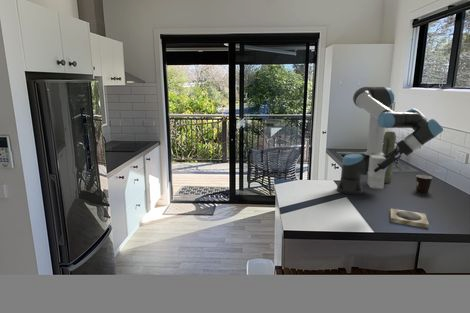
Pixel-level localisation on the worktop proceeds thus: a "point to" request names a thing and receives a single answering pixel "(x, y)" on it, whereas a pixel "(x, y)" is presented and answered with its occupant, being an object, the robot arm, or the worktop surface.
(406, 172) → the worktop surface
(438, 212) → the worktop surface
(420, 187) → the coffee mug
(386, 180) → the olive green tapered column
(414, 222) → the birch board
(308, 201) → the worktop surface
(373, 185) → the skincare box
